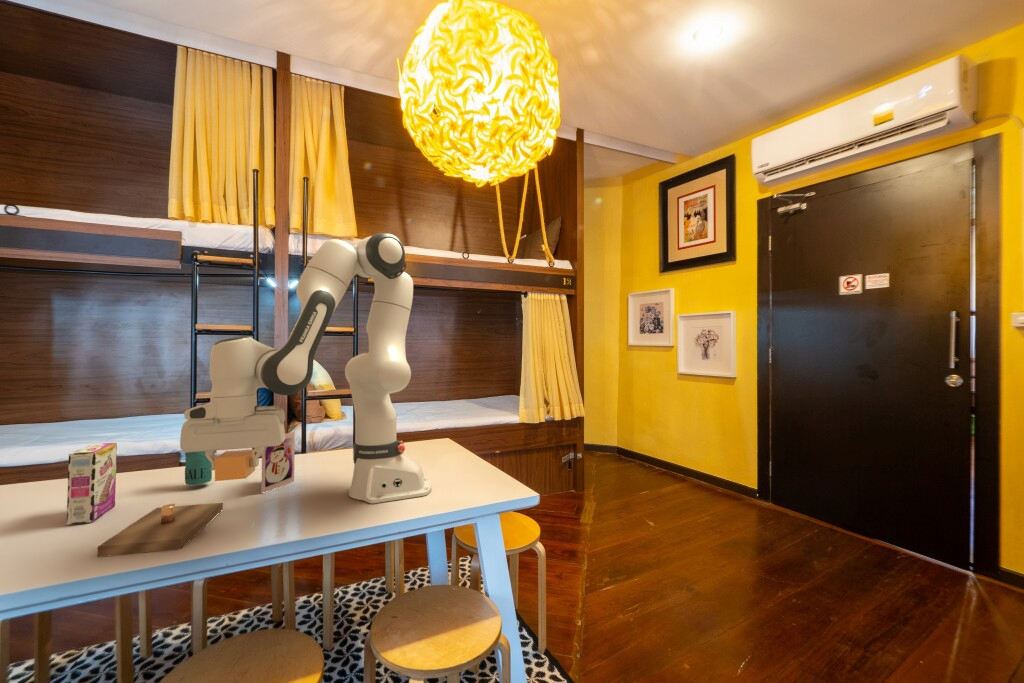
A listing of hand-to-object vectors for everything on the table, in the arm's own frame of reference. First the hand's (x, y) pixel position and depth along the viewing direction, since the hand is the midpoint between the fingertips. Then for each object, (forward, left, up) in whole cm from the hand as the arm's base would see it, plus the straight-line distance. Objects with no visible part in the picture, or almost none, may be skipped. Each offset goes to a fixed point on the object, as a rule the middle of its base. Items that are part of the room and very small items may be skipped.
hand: (235, 467), depth 95 cm
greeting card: (0, -28, -14) cm, 31 cm away
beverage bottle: (+20, -32, -14) cm, 40 cm away
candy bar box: (+35, -15, -14) cm, 41 cm away
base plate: (+13, -1, -13) cm, 19 cm away
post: (+13, -1, -11) cm, 17 cm away
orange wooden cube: (0, 0, -2) cm, 2 cm away
